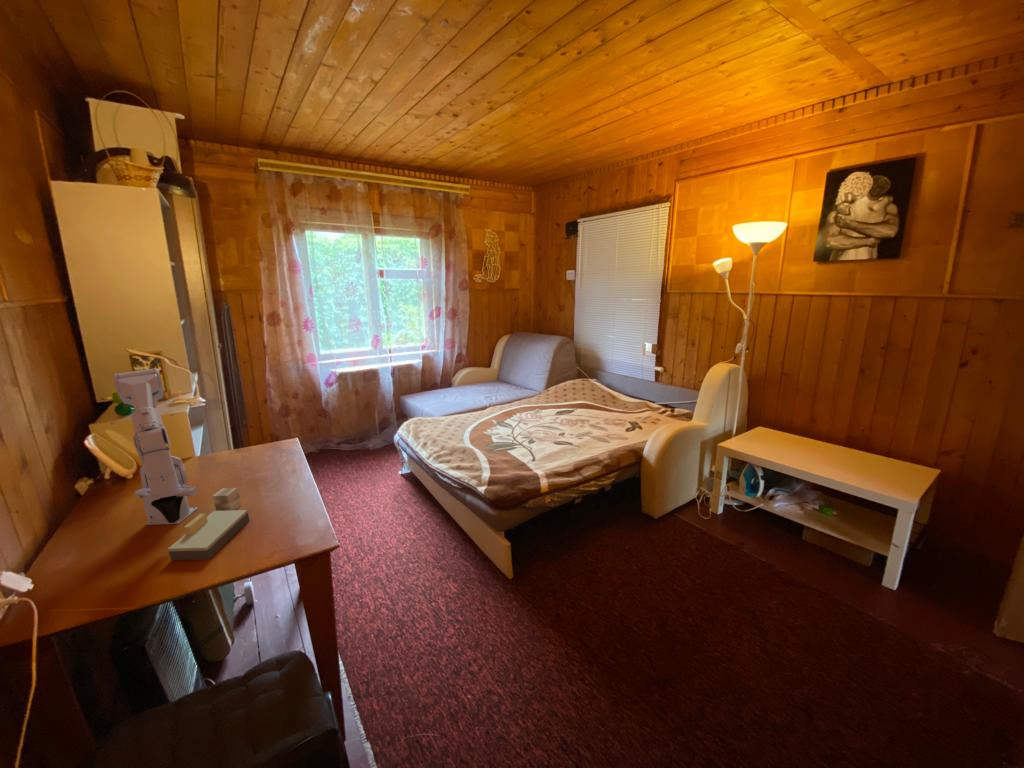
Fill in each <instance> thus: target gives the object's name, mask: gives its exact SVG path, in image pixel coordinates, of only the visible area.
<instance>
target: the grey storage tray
mask: <svg viewBox="0 0 1024 768" xmlns="http://www.w3.org/2000/svg"><path fill="white" fill-rule="evenodd" d="M250 520H251V519H250V516H249V513H247V514H246V515H245V516H243V517H242V518H241V519H240V520H239V521H238V522H237V523H236V524H235V525H234V526H233V527H232V528H231V529H230V530H229V531H227V532H226V533H225V534H224V535H223V536H222V537H221V538H220V539H219V540H218V541H217V542H216V543H215V544H214V545H213V546H211V547H210V548H209V549H208V550H203V551H168V554H169V557H170V561H194V560H195V561H197V560H198V561H201V560H210V559H211V560H212V558H213V557H214V556H215V554H217V552H219V551H220V550H221V549H222V548H223V547H224V546H225V545H226V544H227V543H228V542H229V541H230V540H231V539H232V538H233V537H234V536H236V534H238V532H239V531H240V530H242V528H244V526H245V525H247V524H248V523H249V522H250Z"/></svg>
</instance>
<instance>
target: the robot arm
mask: <svg viewBox="0 0 1024 768" xmlns="http://www.w3.org/2000/svg"><path fill="white" fill-rule="evenodd" d="M112 380H113V382H114V386H115V390H116V393H117V395H118V397H119V398H120V400H121V401H122V403H123V404H124V405H131V406H132V407H133V408H134V409H135V411H134V412H132V414H131V416H130V417H131V424H132V427H133V431H134V432H133V433H134V435H132V442H133V446H134V448H135V452H136V453H137V455H138V457H139V460H140V463H142V466H141V467H140V468H139V474H140V481H141V485H142V488H140V489H138V490H136V491H135V492H134V496H135V499H136V500H141V499H142V498H143V501H142V502H143V508H144V512H145V514H146V518H147V522H146V523H145V524H146V525H147V526H153V525H178V524H181V523H182V522H183V521H184V520H186V519H187V518H188V517H189V516H191V515H192V514H193V513H195V512H196V511H197V510H198V509H199V508H198V507H196V506H195V507H190V506H189V504H190V503H189V499H188V498H194V497H195V496H197V494H198V488H197V486H188V485H187V484H188V483H189V480H188V476H187V473H186V469H185V465H184V463H183V460H182V459H181V458H180V457H179V456H178V457H177V456H175V455H172V453H171V450H170V449H171V442H170V438H169V434H168V430H167V429H166V427H165V424H163V419H162V416H161V415H162V414H161V412H160V410H159V409H157V405H158V401H159V400H161V399H162V398H164V394H165V391H164V388H163V387H164V385H163V382H162V378H161V374H160V370H159V369H158V368H157V367H153V368H150V369H143V370H141V369H140V370H133V371H126V372H120V373H118V372H115V373H114V374H113V375H112ZM167 445H168V446H167Z"/></svg>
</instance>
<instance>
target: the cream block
mask: <svg viewBox="0 0 1024 768" xmlns="http://www.w3.org/2000/svg"><path fill="white" fill-rule="evenodd" d="M212 499H213V502H214V507H215V511H230V510H239V508H240V507H241V506H242V501H241V497H240V493H239V489H238V487H223V488H221V489H219V490H218V491H217V492H215V494H213V495H212Z"/></svg>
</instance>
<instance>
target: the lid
mask: <svg viewBox="0 0 1024 768" xmlns="http://www.w3.org/2000/svg"><path fill="white" fill-rule="evenodd" d="M247 513H248V509H237V510H230V511H216V510H213V511H212V512H210V513H209V514H208V515H207V514H206V513H199V514H197V516H196V517H195V518H193V519H192V520H190V522H188V523H187V524H185V526H183V529H184V533H185V534H184V535H182V536H181V537H180V538H179V539H178V540H176V541H175V542H174V543H173V544H172V545H170V546H169V547H168V548H167V550H168V552H169V551H203V550H208V549H209V548H210V547H211V546H213V545H214V544H215V543H216V542H217V541H218V540H219V539H220V538H221V537H222V536H223V535H224V534H225V533H226V532H227V531H229V530H230V529H231V528H232V527H233V526H234V525H235V524H236V523H237V522H238V521H239V520H240V519H241V518H242V517H243V516H245V515H246V514H247ZM248 514H249V513H248Z"/></svg>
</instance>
